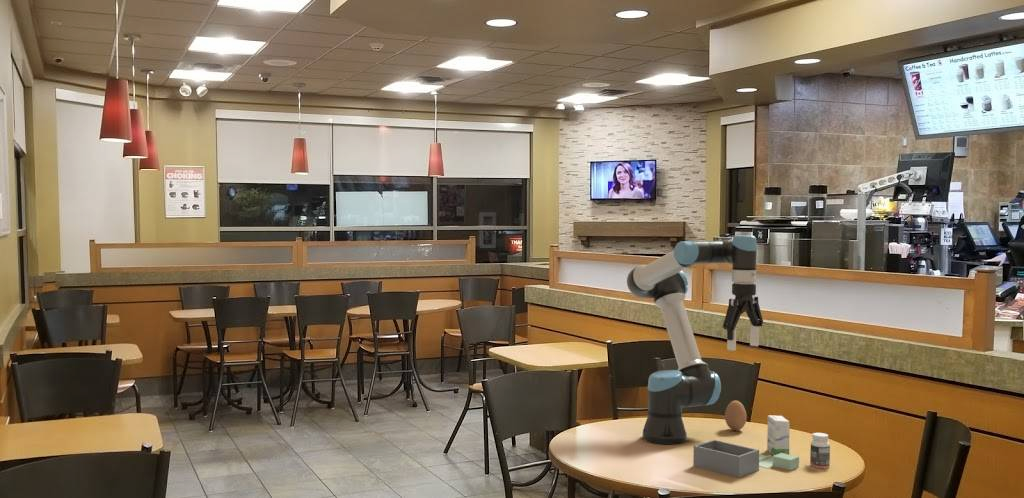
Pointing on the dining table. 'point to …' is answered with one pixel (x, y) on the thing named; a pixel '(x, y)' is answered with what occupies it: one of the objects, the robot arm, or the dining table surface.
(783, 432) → the ink box
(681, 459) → the dining table surface
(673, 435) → the robot arm
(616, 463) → the dining table surface
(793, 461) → the lid
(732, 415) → the egg
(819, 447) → the pill bottle
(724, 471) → the tub
